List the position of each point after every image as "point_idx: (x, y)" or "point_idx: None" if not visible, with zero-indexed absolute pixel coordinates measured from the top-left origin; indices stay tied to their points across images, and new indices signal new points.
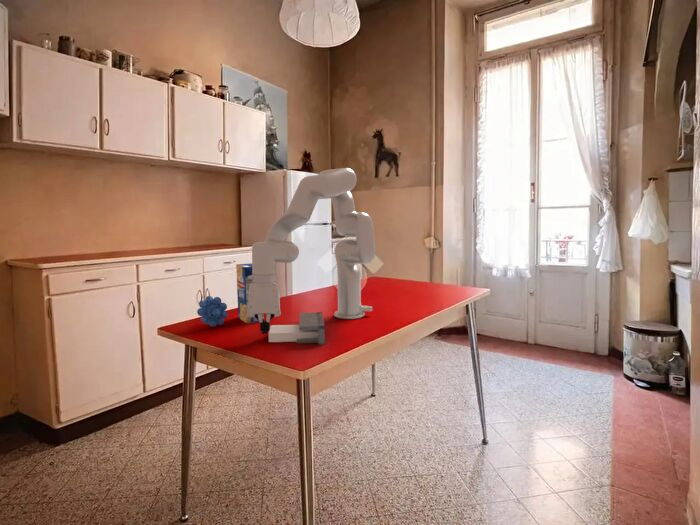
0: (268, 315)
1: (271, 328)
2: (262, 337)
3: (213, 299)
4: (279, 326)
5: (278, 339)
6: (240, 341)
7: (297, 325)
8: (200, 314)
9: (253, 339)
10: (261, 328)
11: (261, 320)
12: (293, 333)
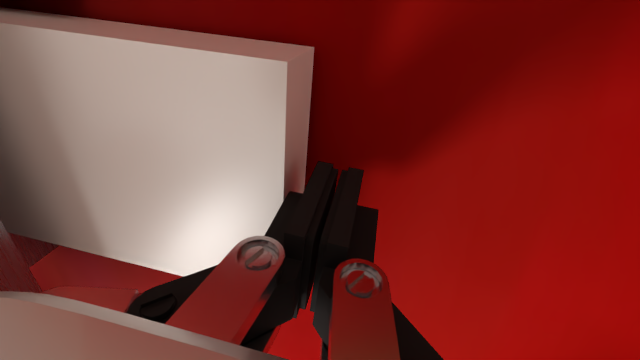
0: (210, 322)
1: (268, 223)
2: None
3: None
4: (209, 254)
5: (216, 37)
6: (558, 175)
7: (83, 236)
8: None
9: (435, 190)
10: (362, 219)
11: (349, 280)
12: (36, 24)
